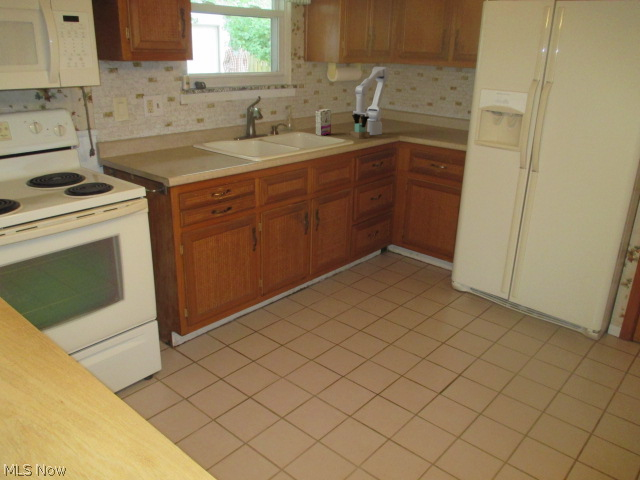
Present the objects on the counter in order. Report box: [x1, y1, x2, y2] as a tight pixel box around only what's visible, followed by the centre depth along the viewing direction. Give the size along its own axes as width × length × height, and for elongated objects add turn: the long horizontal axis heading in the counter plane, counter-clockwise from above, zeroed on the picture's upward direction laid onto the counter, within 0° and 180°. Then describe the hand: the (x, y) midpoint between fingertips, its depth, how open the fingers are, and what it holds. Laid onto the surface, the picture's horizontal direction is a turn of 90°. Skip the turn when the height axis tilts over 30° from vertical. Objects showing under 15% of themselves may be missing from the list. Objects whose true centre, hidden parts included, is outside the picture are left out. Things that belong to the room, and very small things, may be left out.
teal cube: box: [354, 122, 366, 132], centre depth 347 cm, size 5×5×5 cm
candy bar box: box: [315, 108, 332, 136], centre depth 353 cm, size 11×5×16 cm, turn 143°
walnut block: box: [349, 130, 371, 140], centre depth 348 cm, size 9×9×4 cm
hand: (360, 126), depth 346 cm, fingers open, 7 cm apart
